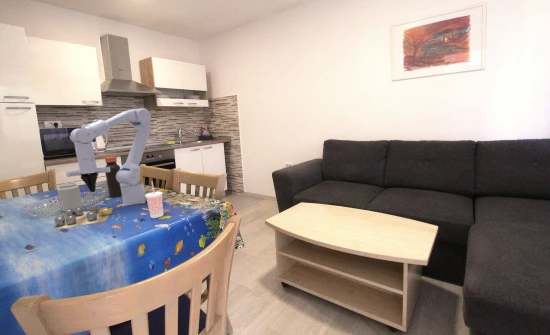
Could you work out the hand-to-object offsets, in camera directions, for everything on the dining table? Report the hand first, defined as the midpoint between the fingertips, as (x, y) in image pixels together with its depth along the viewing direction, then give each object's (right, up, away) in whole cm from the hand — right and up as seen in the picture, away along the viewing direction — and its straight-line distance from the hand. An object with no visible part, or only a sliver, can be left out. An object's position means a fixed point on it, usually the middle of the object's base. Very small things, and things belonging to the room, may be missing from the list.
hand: (92, 191), depth 108 cm
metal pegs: (-2, -10, -4) cm, 11 cm away
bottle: (-7, -5, +29) cm, 31 cm away
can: (-15, -9, +9) cm, 20 cm away
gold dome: (+6, -9, -1) cm, 11 cm away
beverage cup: (+28, -9, -4) cm, 30 cm away
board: (0, -11, -3) cm, 11 cm away
